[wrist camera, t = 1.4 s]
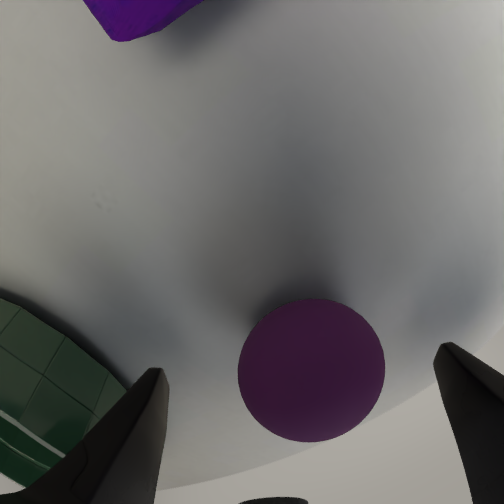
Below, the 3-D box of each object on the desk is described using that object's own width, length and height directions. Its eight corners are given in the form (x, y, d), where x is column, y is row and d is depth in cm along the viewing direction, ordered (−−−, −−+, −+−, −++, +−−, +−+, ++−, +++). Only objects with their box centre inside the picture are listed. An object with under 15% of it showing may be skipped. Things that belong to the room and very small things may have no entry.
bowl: (181, 466, 16) (173, 532, 12) (19, 432, 16) (-1, 478, 12) (99, 282, 10) (31, 391, 5) (-77, 282, 10) (-124, 329, 6)
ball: (352, 361, 12) (381, 452, 8) (243, 370, 12) (243, 469, 8) (369, 267, 10) (427, 362, 6) (233, 274, 10) (226, 386, 6)
